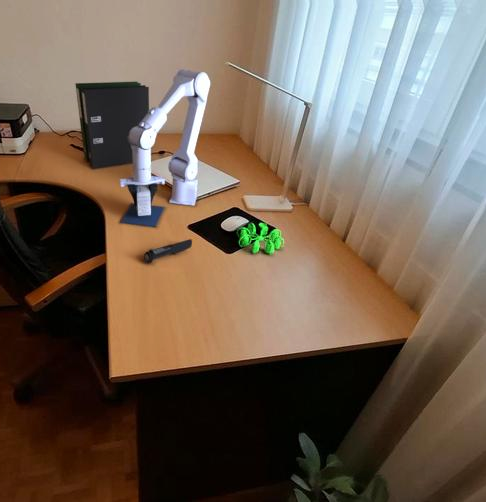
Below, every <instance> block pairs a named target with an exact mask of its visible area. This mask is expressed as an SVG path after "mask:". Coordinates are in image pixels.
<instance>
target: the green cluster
mask: <svg viewBox="0 0 486 502" xmlns="http://www.w3.org/2000/svg"><path fill="white" fill-rule="evenodd" d="M258 227H259V228H260V231H259V234H257V233H256V232H257V231H256V225H255V224H254V223H253V222H249V223H248V224H247V227H243V226H242V227H239V228H237V231H236V235H237V237H238V242H237V243H238V245H239V247H241V248H245V247H248V246H249V245H250V244H251V242H252V241H253V243H252V244H251V252H252V254H256V253H258V252H259V250H260V242H262V243H264V252H265V253H266V254H267V255H273V254H274V252H275V249H276V250H280V249H282V248H283V247H284V246H285V240H284V238H282V237H281V236H282V232H281V230H280V229H278V228H275V229H273V230H271V231H270V232H269V234H268V231H269V227H268V223H266V222H265V223H264V222H260V223H259V224H258ZM239 231H240V232H239ZM267 234H268V235H267ZM252 237H253V238H252ZM267 238H268V239H267ZM254 240H255V241H254ZM259 241H260V242H259ZM281 244H282V246H281Z"/></svg>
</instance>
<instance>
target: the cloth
mask: <svg viewBox="0 0 486 502" xmlns="http://www.w3.org/2000/svg"><path fill="white" fill-rule="evenodd" d="M164 209H165V206H158V205H157V206H156V205H151V215H145V216H138V212H137V208H136V206H135V205H134V202H131V204H130V206H129V207H128V209H127V211H126V212H125V214H124V215H123V217H122V218H121V220H120V224H126V225H134V226H135V225H136V226H142V227H151V228H156V227H157V224H158V223H159V220H160V218H161V216H162V214H163V212H164Z"/></svg>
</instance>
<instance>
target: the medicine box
mask: <svg viewBox="0 0 486 502" xmlns="http://www.w3.org/2000/svg"><path fill="white" fill-rule="evenodd" d="M135 187H136V201H137V206H136V208H137V212H138V216H145V215H151V206H152V205H151V203H150V190H149V186H148V185H135Z"/></svg>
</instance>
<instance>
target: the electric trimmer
mask: <svg viewBox="0 0 486 502" xmlns="http://www.w3.org/2000/svg"><path fill="white" fill-rule="evenodd" d="M192 245H193V240H192V238H189V239H185V240H183V241H178V242H175V243H172V244H167V245H163V246H160V247H156V248H153V249H149V250H148V251H145V252H144V254H143V256H142V258H143V261H144V262H145V263H146V264H151V263H153V261H155V260H158V259H160V258H163V257H166V256H169V255H178V254H180V253H182V252H184V251H186V250H188V249H190V248H192Z"/></svg>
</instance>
